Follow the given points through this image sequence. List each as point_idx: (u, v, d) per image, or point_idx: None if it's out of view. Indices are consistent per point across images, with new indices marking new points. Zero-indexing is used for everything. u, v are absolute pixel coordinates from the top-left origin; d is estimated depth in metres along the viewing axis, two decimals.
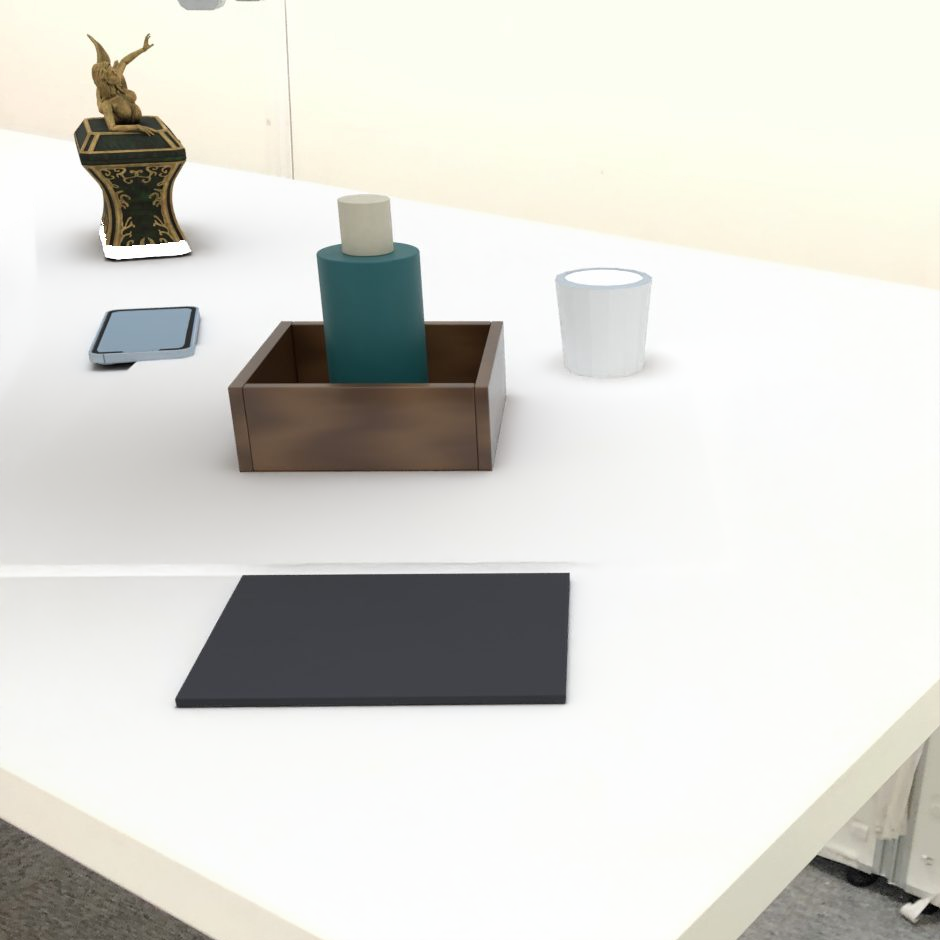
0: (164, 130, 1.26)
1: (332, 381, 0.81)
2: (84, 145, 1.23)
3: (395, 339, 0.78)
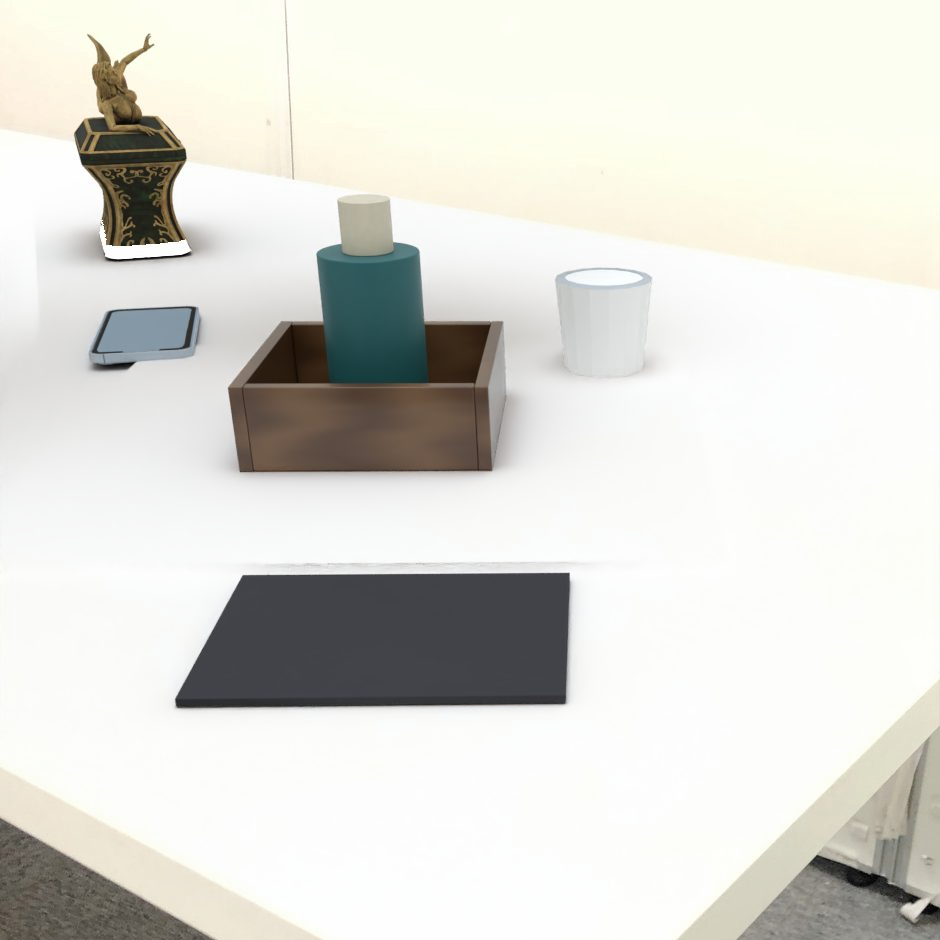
0: (164, 130, 1.26)
1: (332, 381, 0.81)
2: (84, 145, 1.23)
3: (395, 339, 0.78)
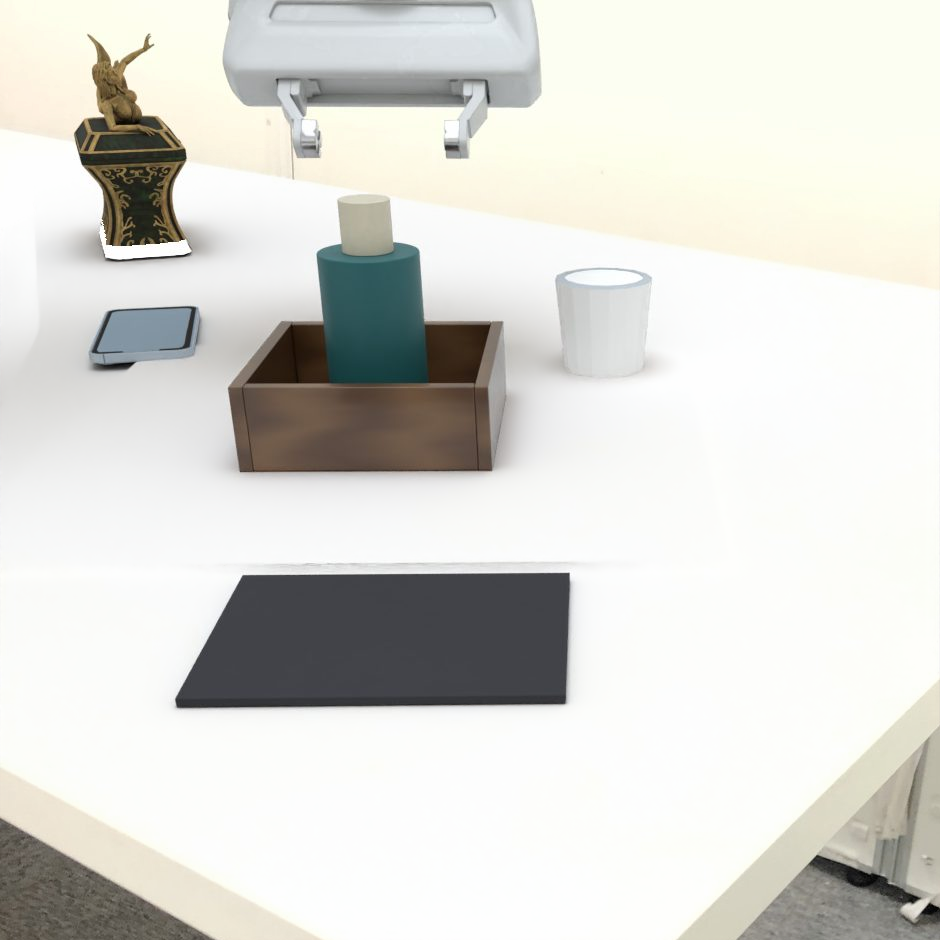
0: (164, 130, 1.26)
1: (332, 381, 0.81)
2: (84, 145, 1.23)
3: (395, 339, 0.78)
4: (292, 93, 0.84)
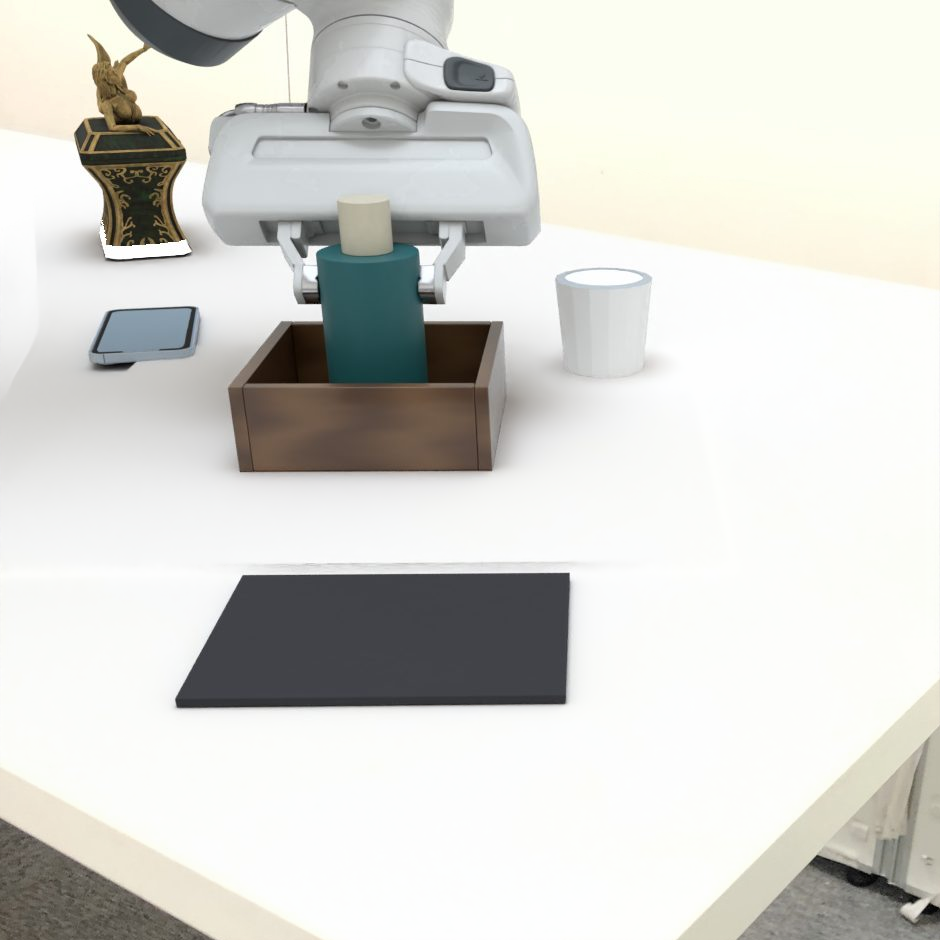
0: (164, 130, 1.26)
1: (332, 381, 0.81)
2: (84, 145, 1.23)
3: (395, 339, 0.78)
4: (293, 236, 0.79)
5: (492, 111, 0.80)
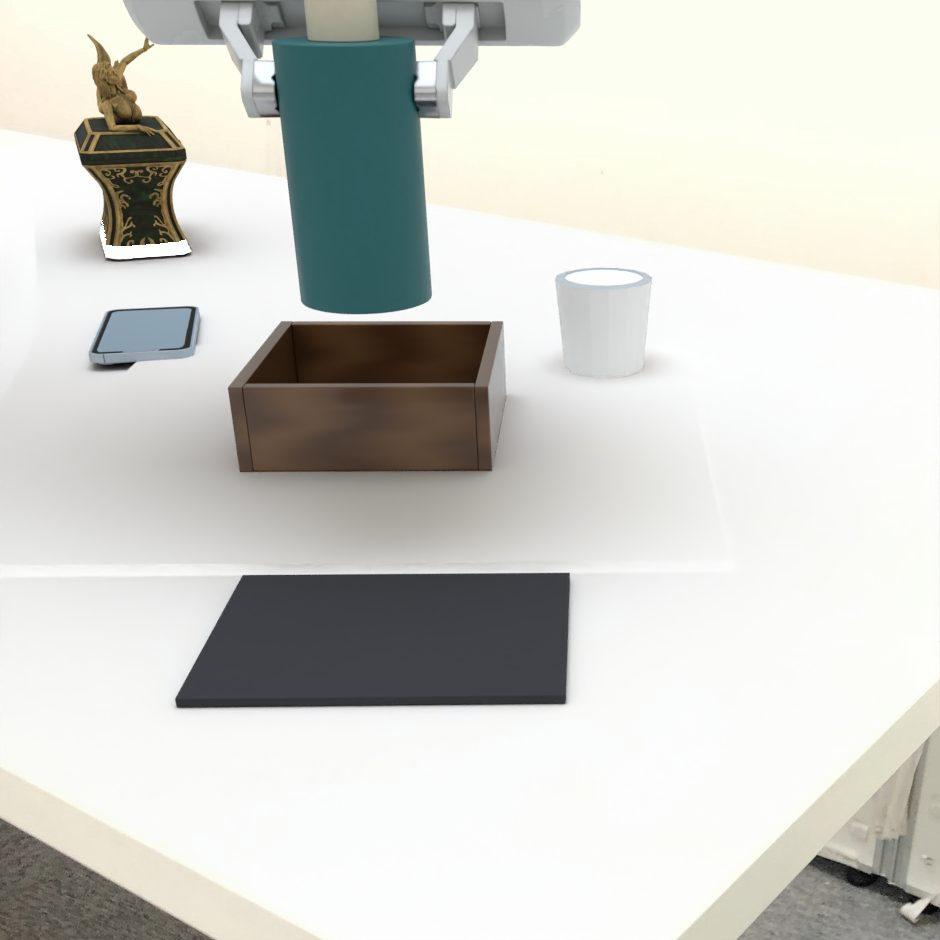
0: (164, 130, 1.26)
1: (296, 225, 0.59)
2: (84, 145, 1.23)
3: (382, 161, 0.57)
4: (241, 22, 0.57)
5: None
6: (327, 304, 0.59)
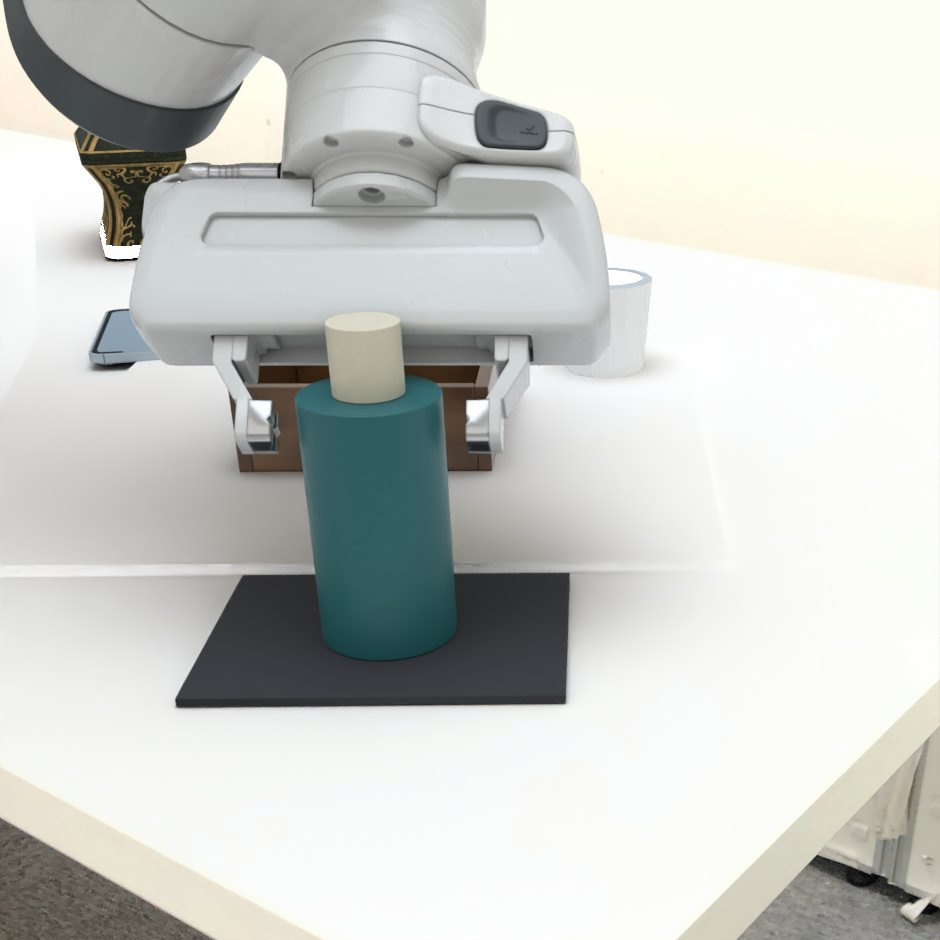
0: None
1: (318, 572, 0.57)
2: (84, 145, 1.23)
3: (408, 518, 0.55)
4: (235, 358, 0.55)
5: (544, 178, 0.56)
6: (350, 650, 0.57)
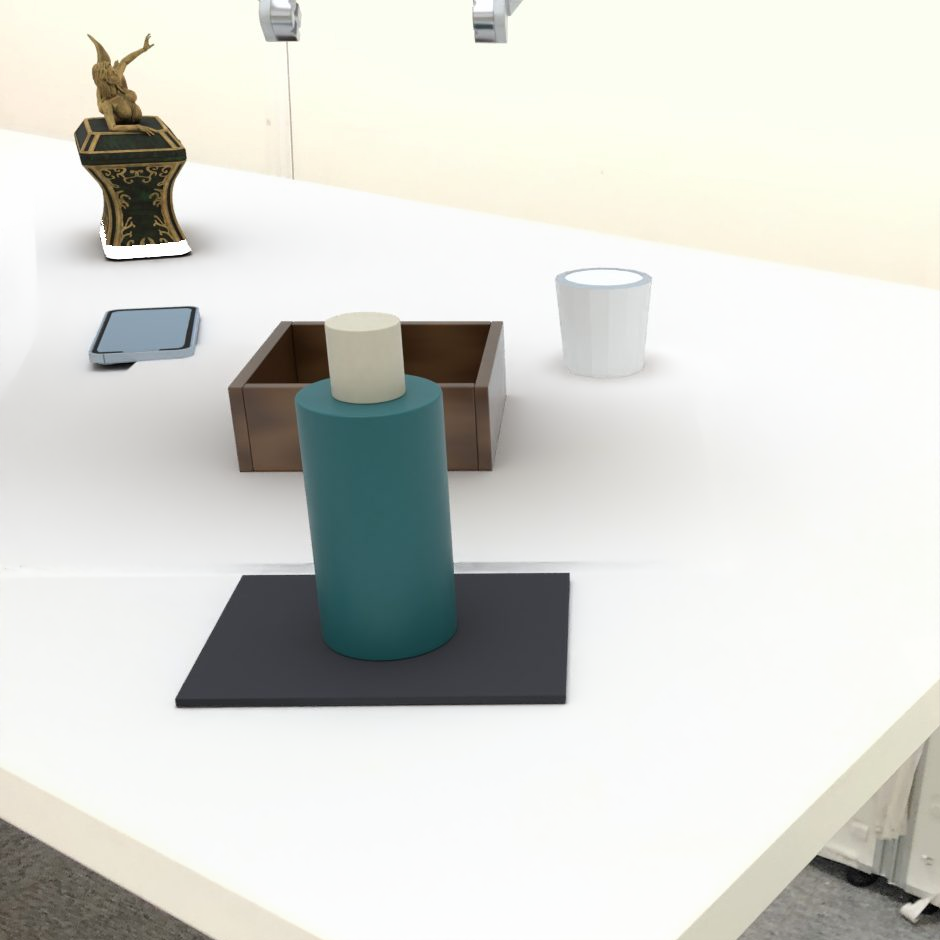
0: (164, 130, 1.26)
1: (318, 572, 0.57)
2: (84, 145, 1.23)
3: (408, 518, 0.55)
4: None
5: None
6: (350, 650, 0.57)
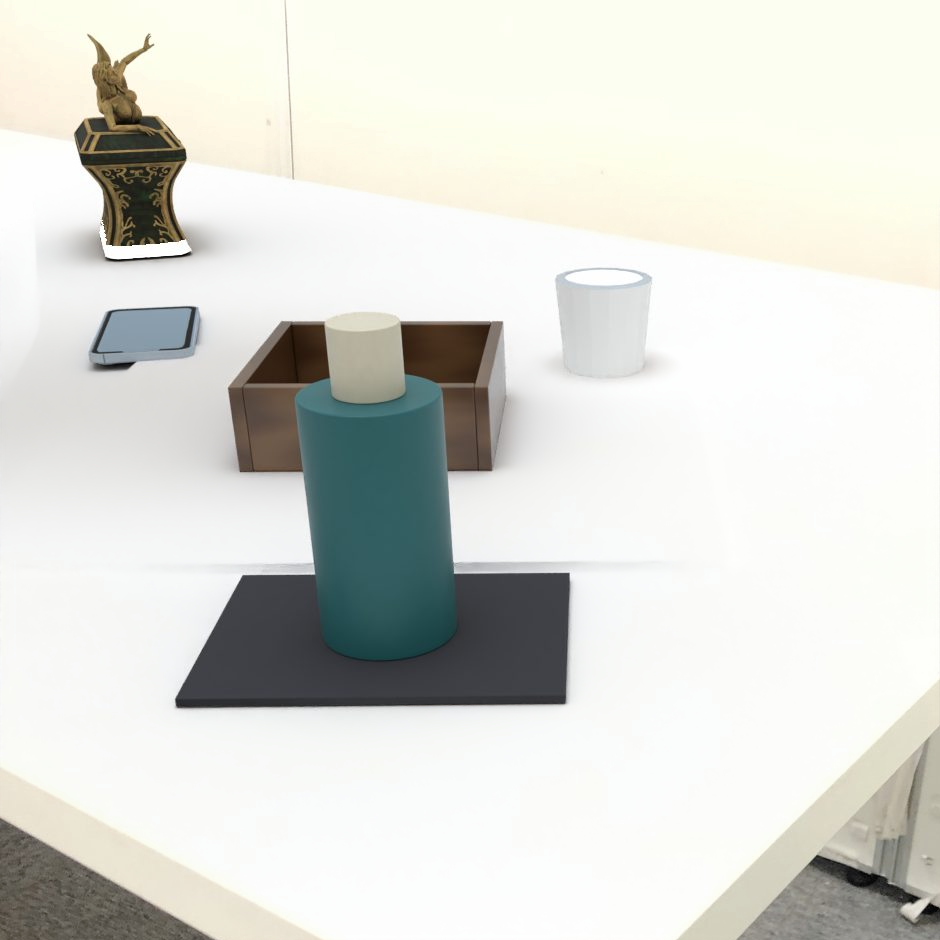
0: (164, 130, 1.26)
1: (318, 572, 0.57)
2: (84, 145, 1.23)
3: (408, 518, 0.55)
4: None
5: None
6: (350, 650, 0.57)
